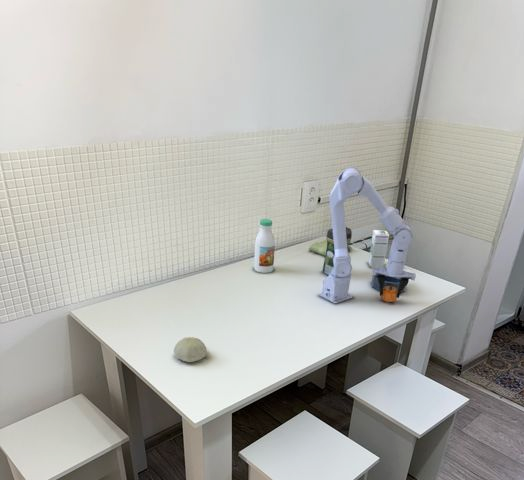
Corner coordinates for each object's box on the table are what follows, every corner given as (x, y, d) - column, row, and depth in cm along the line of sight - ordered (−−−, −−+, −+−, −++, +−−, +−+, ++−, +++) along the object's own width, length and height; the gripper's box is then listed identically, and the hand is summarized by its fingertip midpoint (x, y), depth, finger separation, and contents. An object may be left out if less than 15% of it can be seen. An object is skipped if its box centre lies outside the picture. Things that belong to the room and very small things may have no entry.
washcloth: (352, 250, 220) (354, 243, 219) (329, 259, 209) (330, 252, 207) (329, 242, 228) (330, 235, 226) (305, 251, 216) (306, 244, 214)
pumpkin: (389, 304, 173) (392, 290, 170) (377, 298, 177) (380, 284, 174) (399, 300, 176) (402, 286, 173) (387, 294, 180) (390, 281, 177)
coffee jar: (335, 267, 202) (341, 223, 192) (349, 274, 196) (356, 228, 187) (318, 272, 197) (323, 226, 187) (332, 278, 191) (338, 232, 182)
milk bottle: (251, 271, 193) (253, 221, 183) (257, 264, 200) (259, 216, 189) (270, 274, 192) (273, 224, 181) (275, 267, 198) (278, 218, 188)
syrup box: (383, 268, 203) (390, 234, 196) (369, 267, 203) (375, 234, 196) (381, 263, 208) (387, 230, 200) (367, 262, 208) (373, 229, 200)
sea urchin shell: (207, 340, 143) (206, 333, 135) (206, 366, 141) (205, 360, 133) (176, 339, 142) (173, 332, 135) (174, 365, 141) (171, 360, 133)
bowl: (391, 297, 180) (393, 286, 177) (363, 284, 188) (365, 273, 186) (412, 289, 187) (415, 278, 185) (385, 277, 195) (387, 266, 193)
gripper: (417, 258, 171) (409, 293, 178) (375, 253, 173) (369, 288, 180) (419, 265, 165) (410, 302, 172) (375, 260, 167) (368, 296, 174)
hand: (389, 295), depth 176 cm, fingers closed on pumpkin, 5 cm apart
